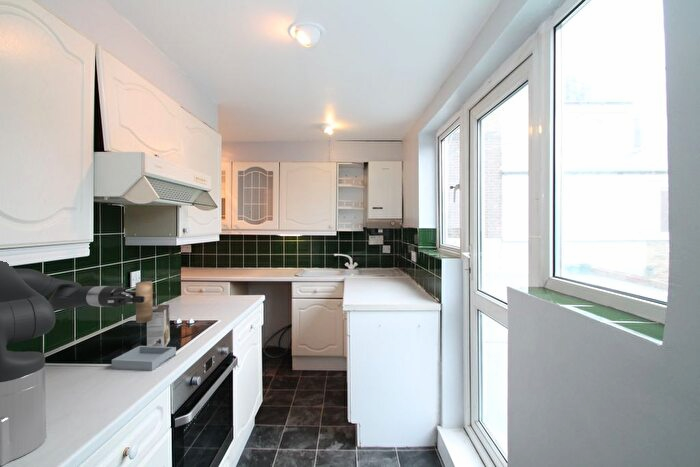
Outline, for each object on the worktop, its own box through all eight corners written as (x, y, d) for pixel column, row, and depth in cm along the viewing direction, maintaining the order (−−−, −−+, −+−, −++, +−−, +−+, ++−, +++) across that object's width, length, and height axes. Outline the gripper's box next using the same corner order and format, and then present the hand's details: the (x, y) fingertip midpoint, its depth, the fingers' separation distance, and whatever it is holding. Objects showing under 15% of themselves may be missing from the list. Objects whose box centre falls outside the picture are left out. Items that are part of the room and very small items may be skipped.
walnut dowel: (145, 323, 102) (145, 284, 102) (132, 322, 102) (132, 283, 102) (155, 318, 107) (155, 281, 107) (143, 318, 107) (143, 281, 107)
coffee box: (152, 342, 123) (152, 305, 122) (170, 340, 125) (169, 303, 125) (146, 351, 114) (145, 311, 114) (164, 348, 116) (164, 309, 116)
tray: (152, 370, 98) (151, 361, 98) (111, 368, 100) (111, 359, 100) (176, 355, 110) (175, 347, 110) (139, 353, 112) (139, 345, 112)
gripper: (87, 290, 98) (133, 291, 97) (123, 282, 113) (164, 283, 111) (87, 312, 99) (133, 313, 97) (123, 301, 113) (164, 302, 112)
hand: (149, 297), depth 104 cm, fingers closed on walnut dowel, 5 cm apart
